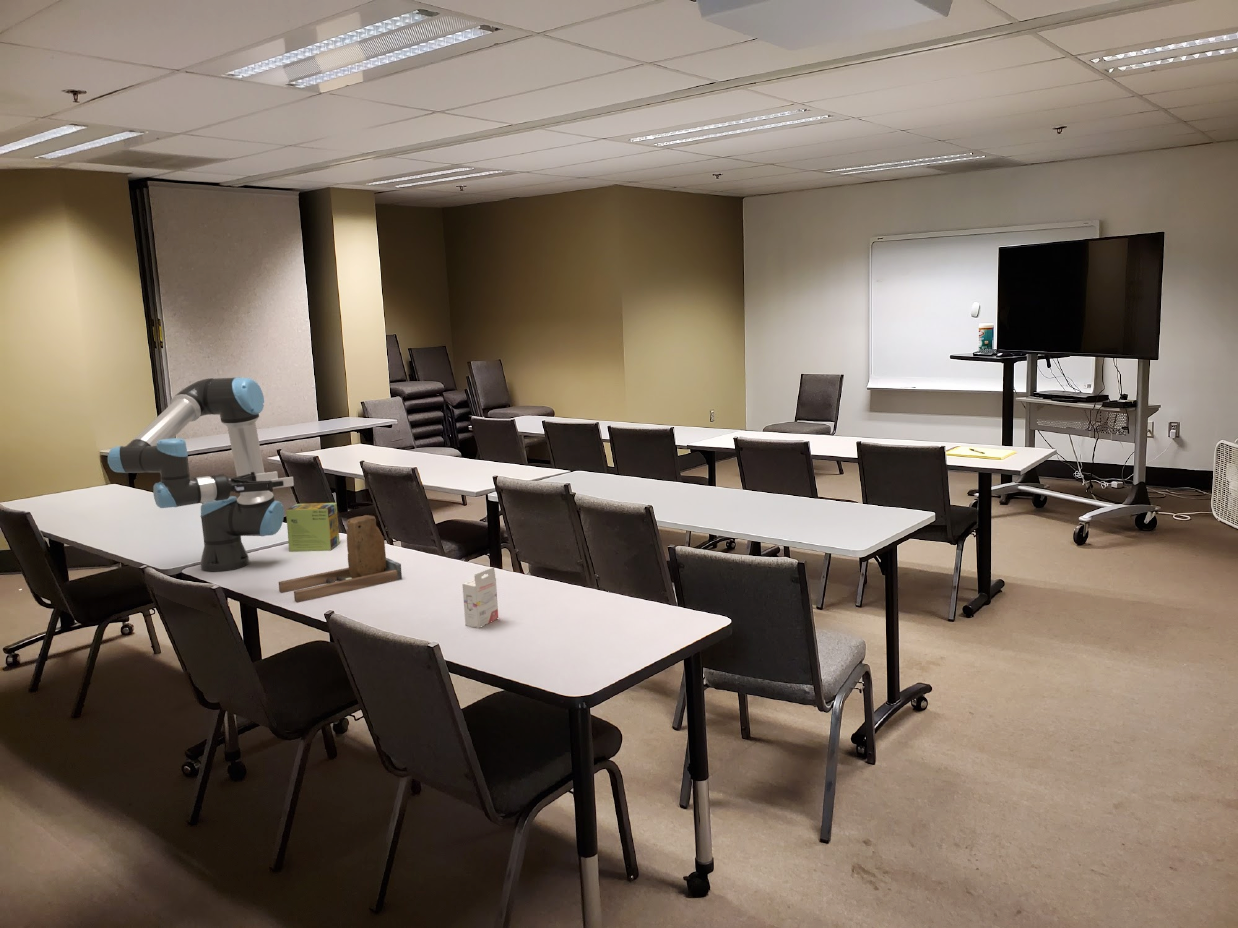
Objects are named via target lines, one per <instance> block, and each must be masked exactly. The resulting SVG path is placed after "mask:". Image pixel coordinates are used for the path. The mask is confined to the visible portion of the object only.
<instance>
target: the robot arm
mask: <svg viewBox="0 0 1238 928" xmlns="http://www.w3.org/2000/svg"><path fill="white" fill-rule="evenodd" d="M264 403H265V397H264V393H263V389H262V388H261V386H260V385H259V383H258V382H256V381H255V379H252V378H250V377H223V378H222V377H219V378H214V377H213V378H204V379H201V380H198V381H195V382H193V383H192V384H190V385H187V386H186V387H185V388H183V389H181V390H180V391H179V392H178V393H177V394H175V395H174V396H173V397H172V398H171V399H170V404H169V406H168V407H166V408H165V409H164V410H163V411H162V412H161V413H160V414H159V415H157V417H155V418H154V419H153V421H152V422H150V423H149V424H148V425H147V426H146V427H145V428H144V429H143V430H142V431H141V432H139V434H137V435H136V436H135V437H133V439H132V440H131V441H130V442H129V443H128V444H127V445H124V446H123V445H120V446H114V447H112V448H110V450H109V452H108V455H107V464H108V466H109V468H110V470H111V471H113V472H115V473H121V474H122V473H123V474H124V473H125V474H131V473H132V474H136V473H137V474H138V473H159V474H160V481H159V482H155V483H154V485H153V487H152V489H153V498H154V501H155V505H156V506H157V507H158V508H159V509H167V508H178V507H184V506H185V507H186V506H189V505H190V506H191V505H197V504H201V506H200V519H201V528H202V534H203V545H204V546H203V550H202V555H201V559H200V569H201V570H202V571H205V572H224V571H230V570H231V571H232V570H237V569H240V568H243V567H246V566H247V565H249V563H250V558H249V555H248V552H247V551H246V548H245V546H244V543H243V542H242V536H243V537H267V536H274V535H276V534H277V533H279V531H280V530H281V528H282V525H283V522H284V517H285V510H284V509H285V508H284V505H283V504H282V502H281V501H279V500H275V495H274V489H281V488H287V487H294V485H295V484H294V482H295V481H294V476H289V477H288V476H287V477H279V475H278V471H269V472H265V468H264V466H265V465H264V463H263V456H262V452H261V451H262V450H261V446H260V441H259V434H258V429H257V424H256V423H257V421H258V419H259V418H260V413H261V412H263V410H264V406H265V405H264ZM208 415H211V416H213V415H214V416H215V415H216V416H217V415H218V416H219V417H220V423H221V424H223V425H225V426H226V428H227V431H228V438H229V442H230V447H231V453H232V457H233V458H232V459H233V463H234V468H235V473H236V476H233V477H229V478H228V476H227V475H226V474H224V473H221V474H214V475H211V476H210V475H206V476H198V477H197V476H196V477H192V478H191V477H190V476H191V475H190V467H189V466H190V465H189V457H188V455H189V453H188V449H187V443H186V440H185V439H183V438H181V437H179V438H178V437H176V436H177V435H178V434H180V433H181V432H182V430H183V429H184V428H185V427H186V426H187V425H189V423H190V422H195V421H197V420H198V419H200V418H201V417H204V416H208ZM231 492H233V493H235V494H240V495H239V496H238V497H237V496H234V495H233V496H232V495H231Z"/></svg>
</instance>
